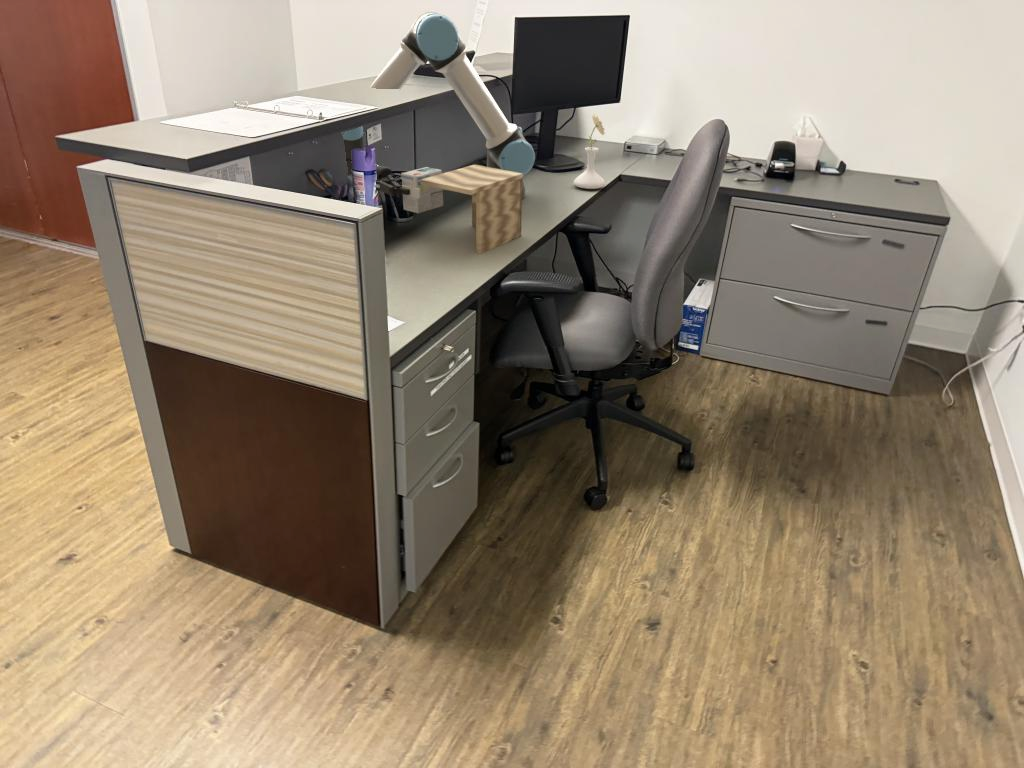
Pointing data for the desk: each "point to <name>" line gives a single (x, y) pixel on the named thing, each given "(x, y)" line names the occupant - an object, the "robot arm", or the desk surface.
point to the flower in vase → (591, 164)
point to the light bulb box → (422, 190)
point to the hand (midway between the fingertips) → (433, 189)
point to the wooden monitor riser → (487, 201)
